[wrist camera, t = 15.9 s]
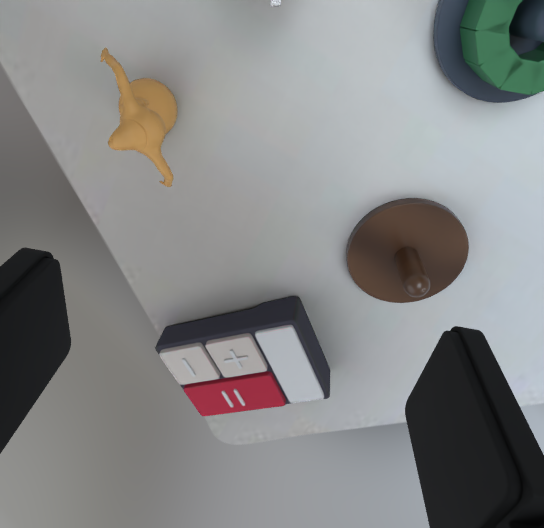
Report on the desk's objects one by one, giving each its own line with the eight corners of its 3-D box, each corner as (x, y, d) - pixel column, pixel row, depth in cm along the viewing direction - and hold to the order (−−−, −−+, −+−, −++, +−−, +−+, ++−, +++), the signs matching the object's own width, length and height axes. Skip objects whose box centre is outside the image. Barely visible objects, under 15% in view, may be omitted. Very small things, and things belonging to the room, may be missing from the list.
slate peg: (472, -102, 24) (515, -127, 19) (643, -67, 24) (731, -83, 19) (411, 85, 29) (431, 104, 24) (550, 111, 29) (599, 136, 24)
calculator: (150, 352, 41) (294, 325, 36) (165, 323, 44) (298, 294, 40) (199, 421, 46) (330, 405, 41) (209, 390, 49) (331, 371, 45)
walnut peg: (364, 187, 33) (373, 221, 28) (485, 210, 34) (515, 248, 29) (334, 285, 39) (337, 329, 34) (438, 304, 39) (456, 350, 34)
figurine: (106, 52, 30) (1, 83, 20) (182, 22, 28) (110, 39, 18) (158, 161, 34) (93, 233, 24) (227, 140, 32) (188, 206, 22)
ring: (492, -67, 24) (514, -75, 21) (619, -43, 24) (655, -47, 21) (442, 73, 28) (455, 81, 25) (550, 93, 28) (574, 103, 25)
